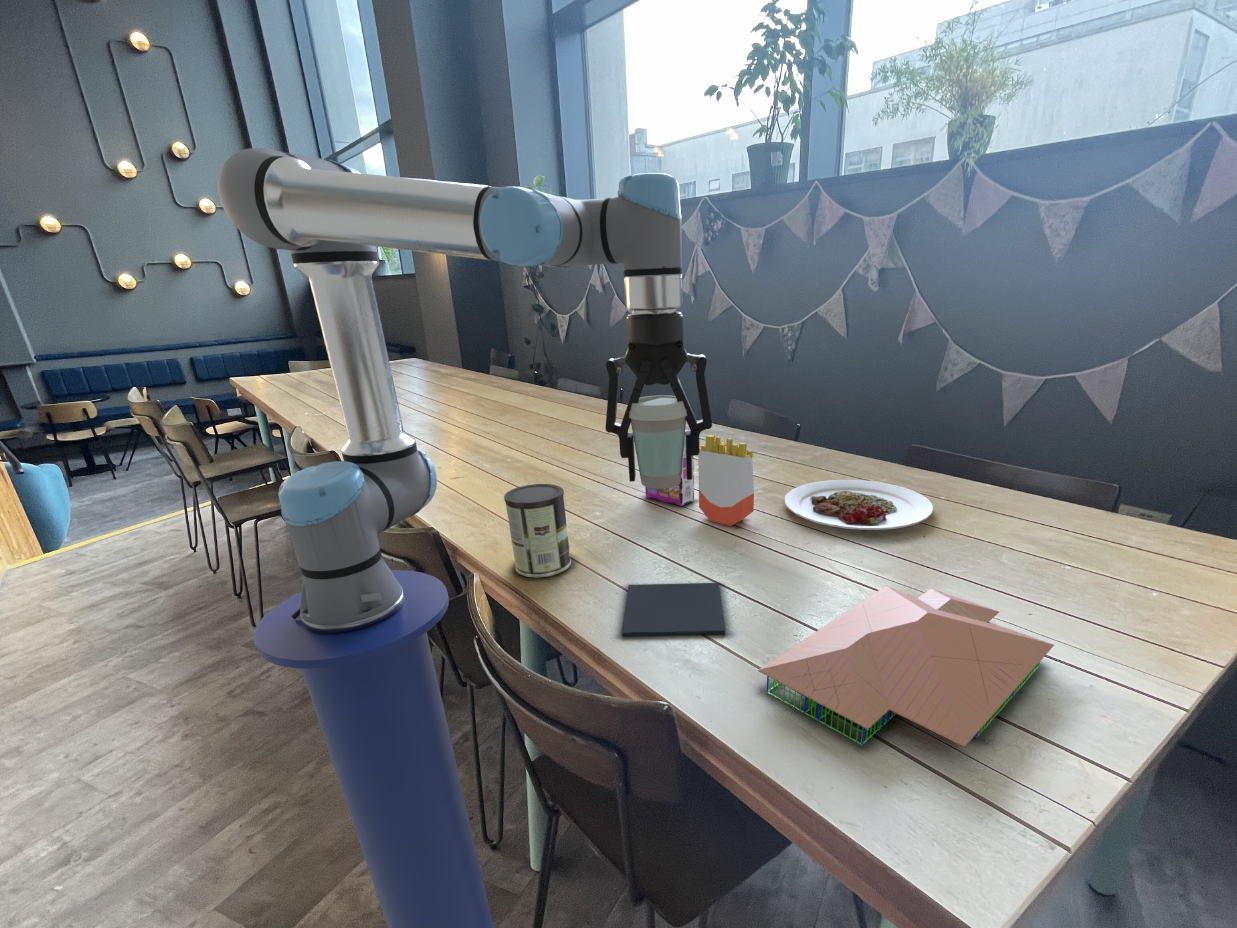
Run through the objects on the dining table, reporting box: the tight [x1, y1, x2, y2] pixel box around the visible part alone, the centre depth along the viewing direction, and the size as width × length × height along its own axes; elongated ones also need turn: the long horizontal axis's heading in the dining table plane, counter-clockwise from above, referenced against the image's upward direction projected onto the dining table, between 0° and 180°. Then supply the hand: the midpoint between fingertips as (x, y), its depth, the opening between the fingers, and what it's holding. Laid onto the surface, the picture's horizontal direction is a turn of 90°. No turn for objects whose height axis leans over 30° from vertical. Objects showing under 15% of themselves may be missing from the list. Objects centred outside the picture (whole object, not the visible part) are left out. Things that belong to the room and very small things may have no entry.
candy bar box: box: [644, 429, 695, 507], centre depth 139 cm, size 11×5×16 cm, turn 49°
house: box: [757, 585, 1055, 748], centre depth 76 cm, size 23×33×8 cm
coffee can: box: [503, 483, 572, 579], centre depth 109 cm, size 10×10×14 cm
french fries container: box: [697, 434, 755, 527], centre depth 125 cm, size 5×11×18 cm, turn 50°
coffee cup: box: [629, 395, 687, 489], centre depth 88 cm, size 8×8×12 cm
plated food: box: [784, 479, 934, 531], centre depth 131 cm, size 30×30×3 cm
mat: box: [621, 582, 726, 637], centre depth 96 cm, size 15×15×1 cm
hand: (660, 477), depth 90 cm, fingers closed on coffee cup, 8 cm apart
